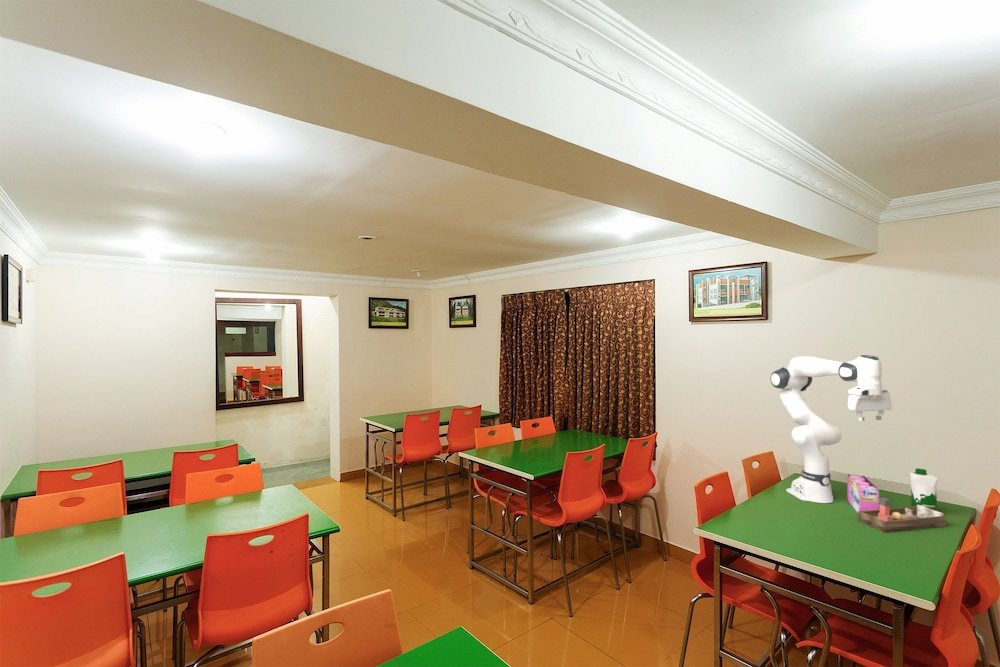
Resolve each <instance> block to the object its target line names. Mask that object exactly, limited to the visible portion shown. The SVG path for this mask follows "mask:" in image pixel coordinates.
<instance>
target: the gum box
mask: <svg viewBox="0 0 1000 667" xmlns="http://www.w3.org/2000/svg"><path fill="white" fill-rule="evenodd" d="M846 486H847V501H848V503H849V504H850V505H851V507H852V508H853V509H854V510H855V511H856V512H857V513H858V511H869V510H880V504H879V498H880V489H879V487H877V486H876V485H875V484H874V483H872V482H871V480H869V478H867V477H866V476H865V475H860V476H857V475H850V474H849V473H848V474H847V485H846Z"/></svg>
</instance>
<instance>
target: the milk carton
mask: <svg viewBox="0 0 1000 667" xmlns="http://www.w3.org/2000/svg"><path fill="white" fill-rule="evenodd" d="M909 475H910V476H909V477H910V488H911V489H910V490H911V491H910V493H911V494H910V497H911V499H910V501H911V503H910V505H911V506H910V507H914V506H917V505H920V506H923V507H926V508H929V509H932V510H935V511H938V506H937V505H938V501H937V500H938V498H937V496H938V495H937V494H938V493H937V491H938V490H937V486H938V485H937V484H938V481H939V480H938V479H939V478H938V477H936V476H934V475H933V474H931V473H928V472H927V470H926V469H924V468H915V472H909Z"/></svg>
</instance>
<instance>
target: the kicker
mask: <svg viewBox="0 0 1000 667" xmlns="http://www.w3.org/2000/svg"><path fill="white" fill-rule="evenodd" d="M890 507H891V500H890V499H888V498H885V497H879V510H880V513H878V519H880V520H883V521H891V516H890V509H891V508H890Z"/></svg>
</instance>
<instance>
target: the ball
mask: <svg viewBox="0 0 1000 667" xmlns="http://www.w3.org/2000/svg"><path fill="white" fill-rule="evenodd" d="M892 517H893V518H894V519H895V520H900V519H901V518H902V515H901V514H900V513H898V512H893V513H892Z"/></svg>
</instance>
